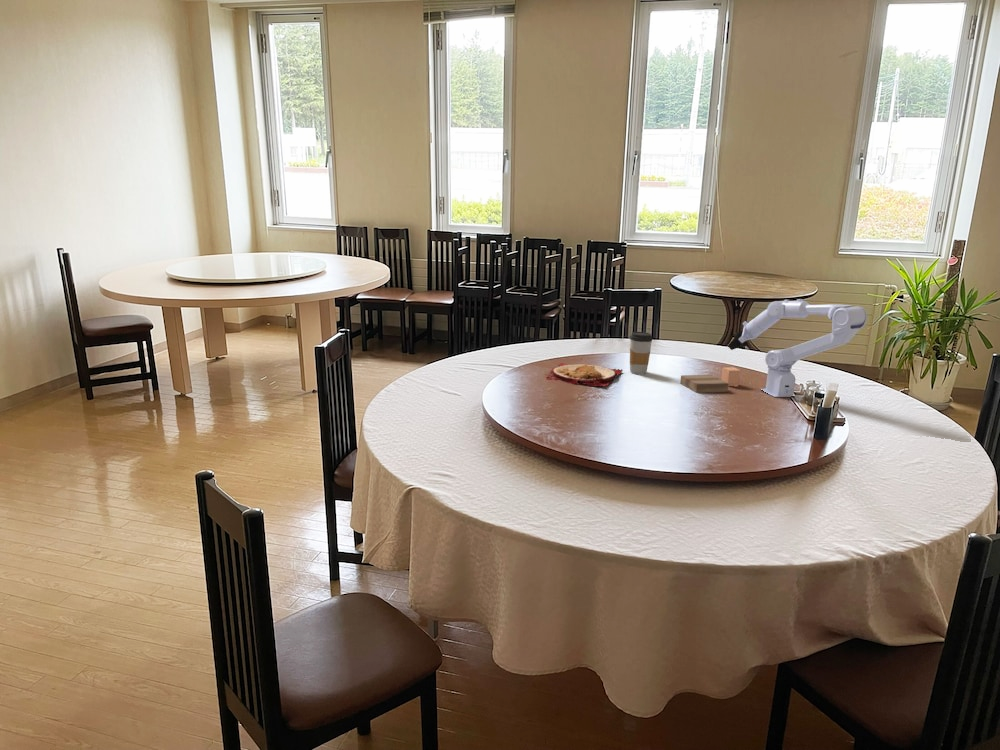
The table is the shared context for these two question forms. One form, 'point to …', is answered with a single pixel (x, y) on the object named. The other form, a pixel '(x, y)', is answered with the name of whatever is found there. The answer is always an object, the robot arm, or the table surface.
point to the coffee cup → (639, 352)
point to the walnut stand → (704, 383)
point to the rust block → (731, 375)
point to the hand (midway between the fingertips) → (734, 343)
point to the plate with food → (584, 374)
